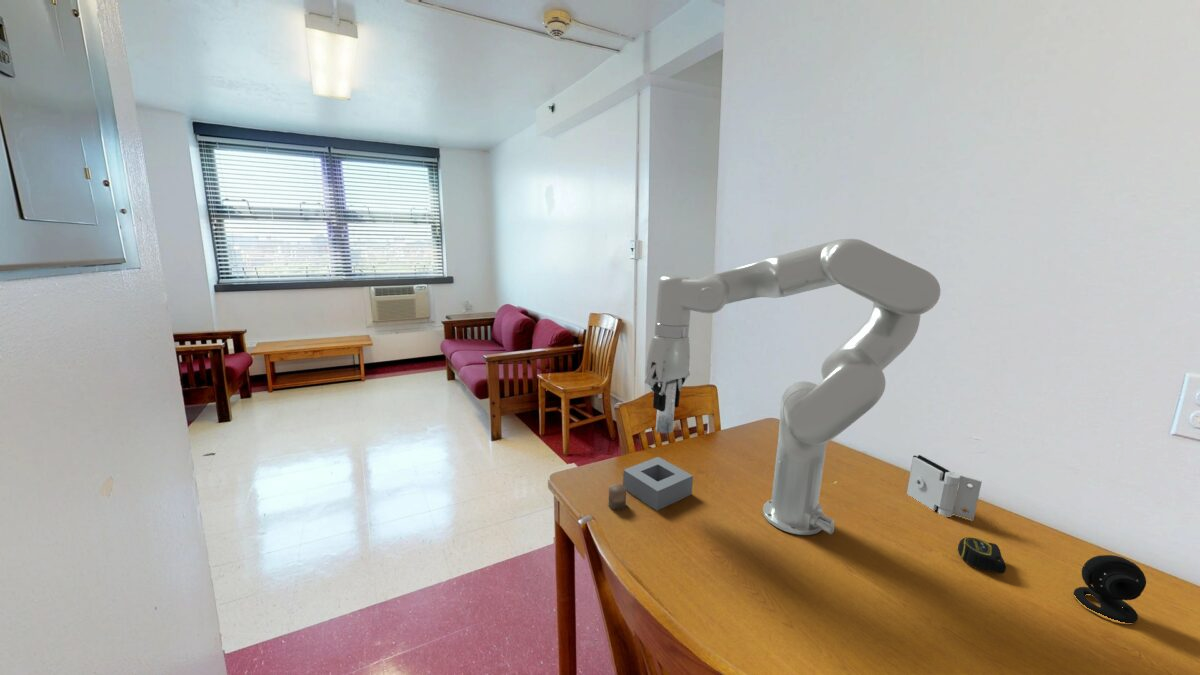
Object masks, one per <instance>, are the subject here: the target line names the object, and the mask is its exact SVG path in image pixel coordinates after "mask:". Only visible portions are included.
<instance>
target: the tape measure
mask: <svg viewBox="0 0 1200 675" xmlns="http://www.w3.org/2000/svg"><path fill="white" fill-rule="evenodd" d="M957 553H958V555H959V556H960V558H961V559H962V561H964V562H965V563H967V564H968V565H970V566H971V567H973V566H974V568H975V567H976V568H975V569H978V570H980V569H981V571H985V572H990V573H994V574H1000V575H1002V574H1004V573H1005V572H1006V570H1007V565H1006V562H1005V560H1004V559H1003V556H1002V553H1001V549H1000V547H999V546H998V545H997V544H996V543H993V542H987V541H985V540H983V539H981V538H978V537H972V536H971V537H970V536H969V537H967V536H966V537H963V538H961V539H960V540H959V543H958V547H957Z"/></svg>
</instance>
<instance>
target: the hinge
mask: <svg viewBox="0 0 1200 675" xmlns="http://www.w3.org/2000/svg"><path fill="white" fill-rule="evenodd" d="M908 478H909V479H908V483H907V488H906V495H907V494H908V495H907V496H908V497H910V496H911V497H910V498H912V497H913V498H914V499H913V498H912V499H913V500H915V499H916V500H917V501H916V500H915V501H916V502H918V501H919V502H921V503H922V504H921V503H920V504H921V505H923V504H924V505H926V506H927V507H929V508H930V509H932V510H936V511H937V513H938V512H939V514H941V515H944V516H949V517H950V516H952V517H953V515H952V514H955V515H958V516H961V517H965V518H968V519H971V520H973V521H974V520H975V515H976V510H977V505H978V502H979V496H980V492H981V486H982V481H983V480H982V479H979V478H975V477H971V476H968V475H964V474H961V473H957V472H955V471H953V470H951V469H950V468H948V467H946V466H944V465H942V464H940V463H938V462H937V461H934V460H932V459H931V458H929V457H927V456H923V455H920V454H919V455H913V456H912V460H911V466H910V472H909V477H908ZM969 485H972V486H969ZM919 502H918V503H919ZM924 505H923V506H924ZM926 506H925V507H926ZM927 507H926V508H927ZM937 507H938V508H937ZM929 508H928V509H929ZM930 509H929V510H930ZM964 509H966V511H964ZM932 510H931V511H932ZM939 514H938V515H939ZM941 515H940V516H941Z"/></svg>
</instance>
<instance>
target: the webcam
mask: <svg viewBox="0 0 1200 675" xmlns="http://www.w3.org/2000/svg"><path fill="white" fill-rule="evenodd" d="M1081 577H1082V580H1083V582H1084V584H1085V585H1086V586H1080V587H1076V588H1074V591H1073V596H1074V595H1075V596H1076V598H1077V599H1078V600H1079V601H1080V602H1081V603H1082V604H1083V605H1085V606H1086V607H1087V608H1089V609H1091V610H1093V611H1095V612H1097V613H1100V614H1102V615H1104V616H1107V617H1108V618H1111V619H1114V620H1118V621H1120V622H1125V623H1133V624H1135V623H1137V622H1138V620H1139V615H1138V613H1137V611H1136V610H1135V609H1134V608H1133V607H1132V606H1131V605H1130V604H1129V603H1127V602H1126V601H1132V600H1135V599H1138V598H1139V597H1141V595H1142V593H1143V592H1144V590H1145V588H1146V586H1147V578H1146V575H1145V573H1144V572H1143V571H1142V570H1141V568H1140V567H1139V566H1138V565H1137V564H1136V563H1134V562H1132V561H1131V560H1129V559H1127V558H1125V557H1122V556H1118V555H1111V554H1101V555H1100V554H1099V555H1096V556H1093V557H1091V558H1089V559H1088V560H1086V562H1085V563H1084V564H1083V566H1082V568H1081ZM1086 594H1091V595H1093V596H1094V597H1093V598H1095V599H1096V601H1097V602H1098V603H1099V605H1100V606H1099V605H1096V604H1094V603H1093V602H1092V601H1090V600H1089V599H1087V596H1085V595H1086ZM1122 607H1123V608H1122ZM1136 621H1137V622H1136ZM1134 622H1135V623H1134Z"/></svg>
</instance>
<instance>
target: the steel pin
mask: <svg viewBox="0 0 1200 675" xmlns="http://www.w3.org/2000/svg"><path fill="white" fill-rule="evenodd" d="M676 384H677V382H676V381H675V380H672V381H668V382H666V386H665V391H664V395H666V401H665V410H664V411H663V412H662V411H659V410H657V409H656V421H655V431H656V432H657V433H660V434H672V433H673V431H674V421H675V420H674V419H675V418H674V417H675V408H676V407H675V396H676ZM660 385H661V383H659V384H658V386H659V387H660Z"/></svg>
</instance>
